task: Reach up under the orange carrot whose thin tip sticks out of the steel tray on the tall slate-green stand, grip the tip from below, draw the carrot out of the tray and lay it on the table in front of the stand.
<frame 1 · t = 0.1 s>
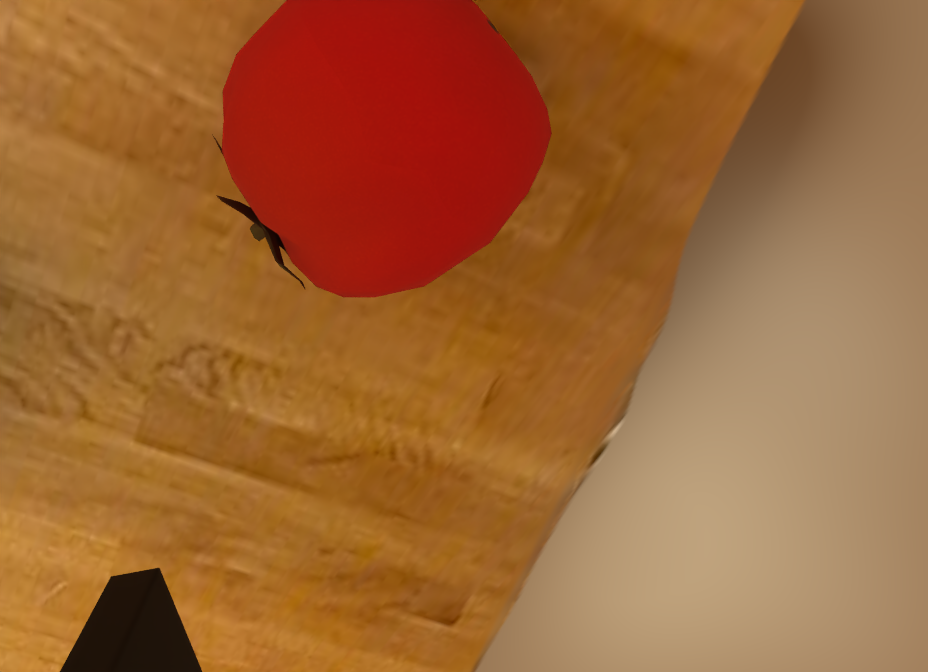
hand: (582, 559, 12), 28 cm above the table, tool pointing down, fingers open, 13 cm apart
tomato: (381, 122, 37), on the table
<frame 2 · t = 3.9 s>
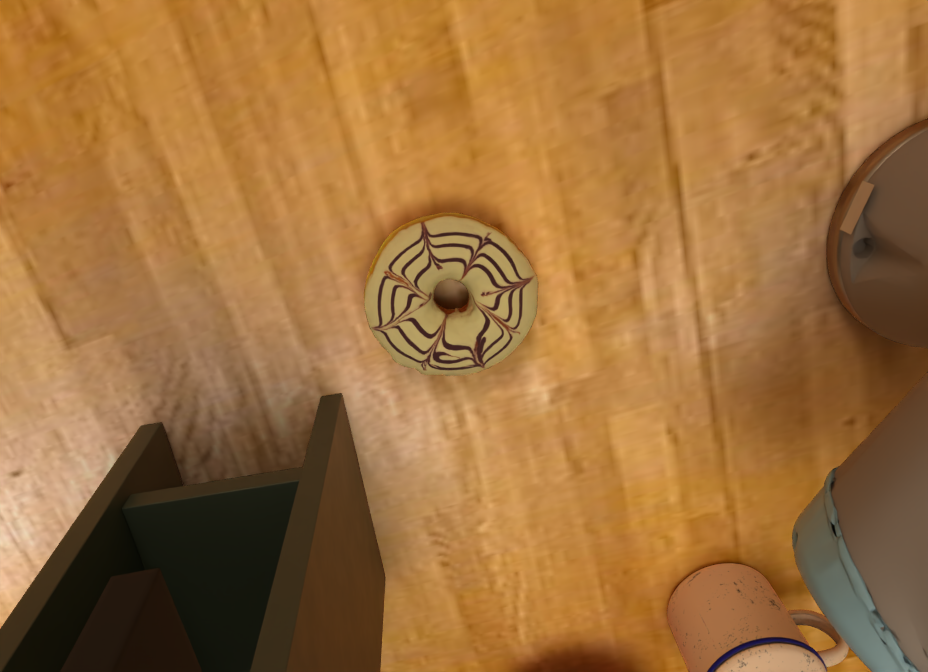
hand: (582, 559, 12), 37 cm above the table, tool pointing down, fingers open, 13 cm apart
teacup with lid: (735, 599, 61), on the table
stand: (269, 505, 55), on the table
decorated donut: (449, 286, 50), on the table
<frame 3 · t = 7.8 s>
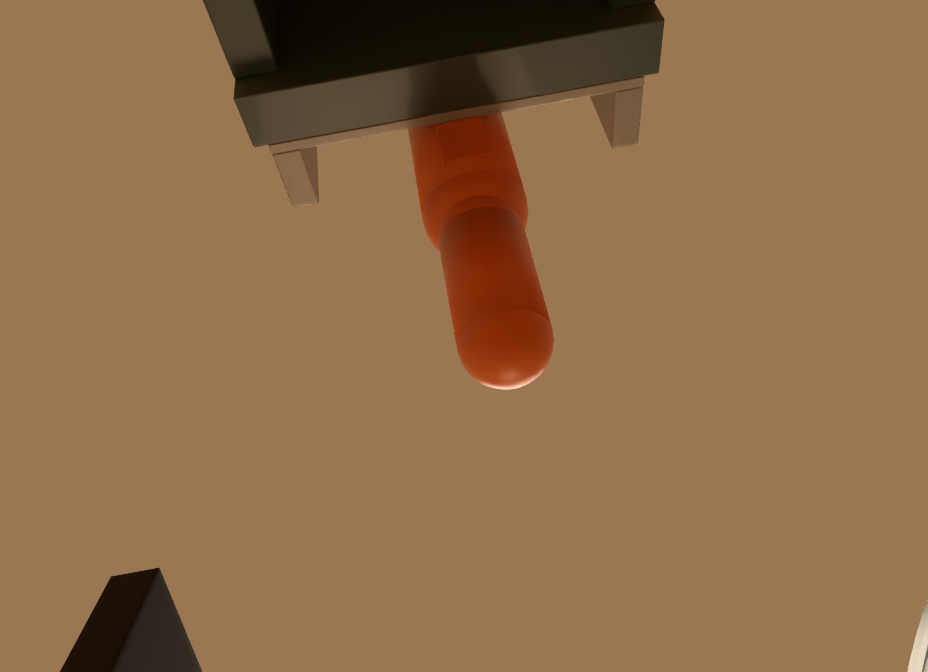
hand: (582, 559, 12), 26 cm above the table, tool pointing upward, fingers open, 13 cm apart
carrot: (450, 87, 27), point 30 cm above the table, touching stand
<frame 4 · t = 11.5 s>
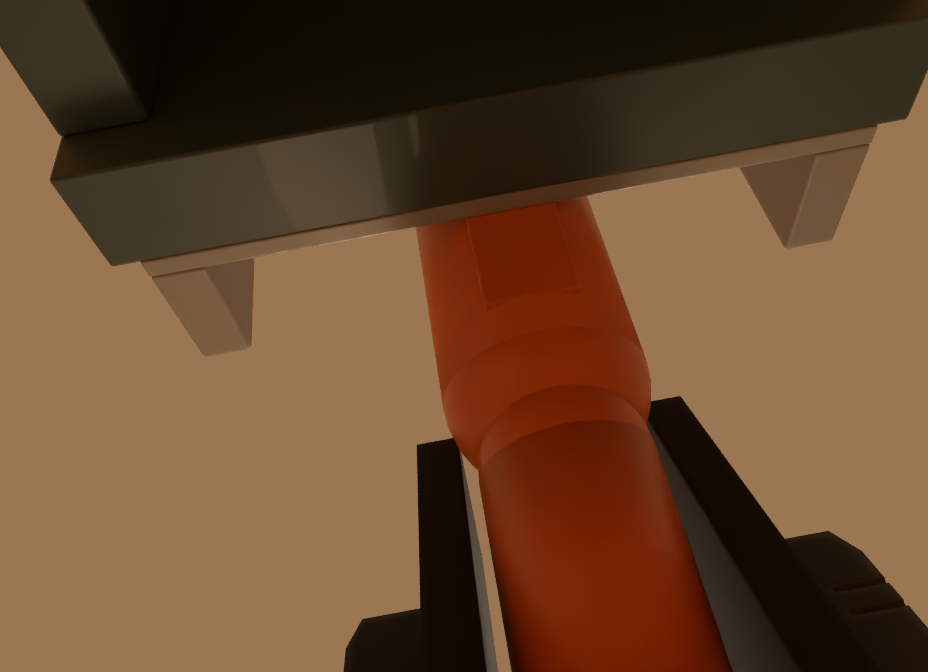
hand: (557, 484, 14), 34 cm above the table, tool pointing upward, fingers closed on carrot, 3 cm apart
carrot: (491, 140, 15), point 30 cm above the table, touching gripper, stand
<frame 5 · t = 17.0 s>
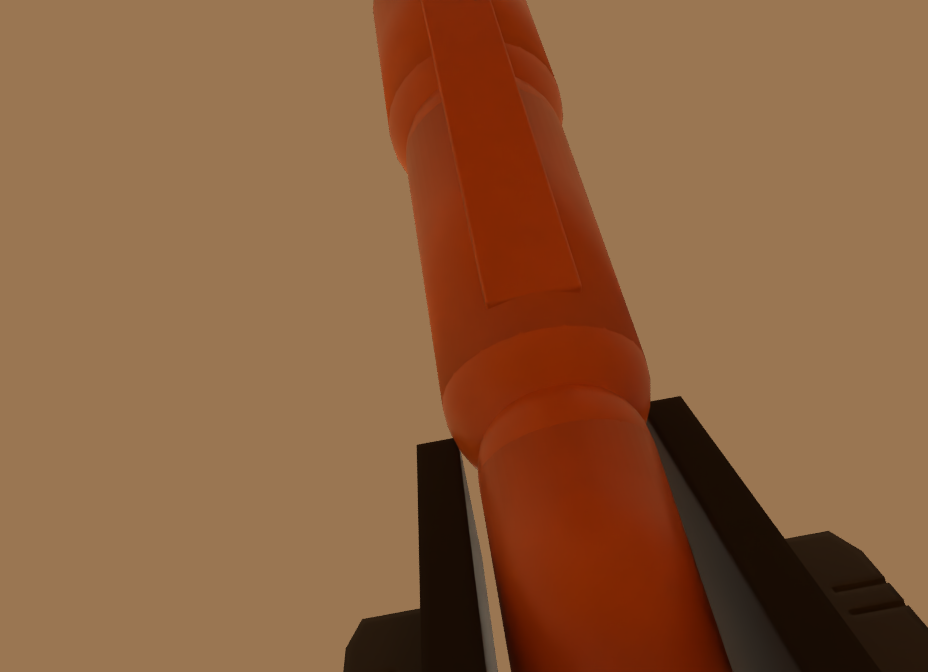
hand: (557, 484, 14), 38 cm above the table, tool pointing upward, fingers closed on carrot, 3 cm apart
carrot: (492, 138, 15), point 35 cm above the table, touching gripper
when the fingers open (12 cm above the table, at t = 22.7 s): carrot drops 6 cm, on the table.
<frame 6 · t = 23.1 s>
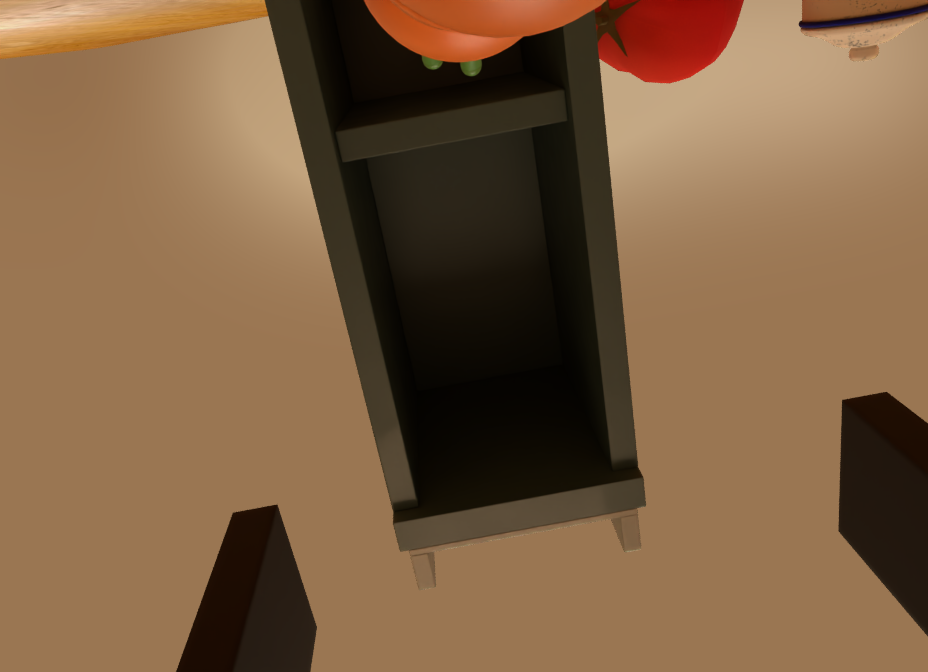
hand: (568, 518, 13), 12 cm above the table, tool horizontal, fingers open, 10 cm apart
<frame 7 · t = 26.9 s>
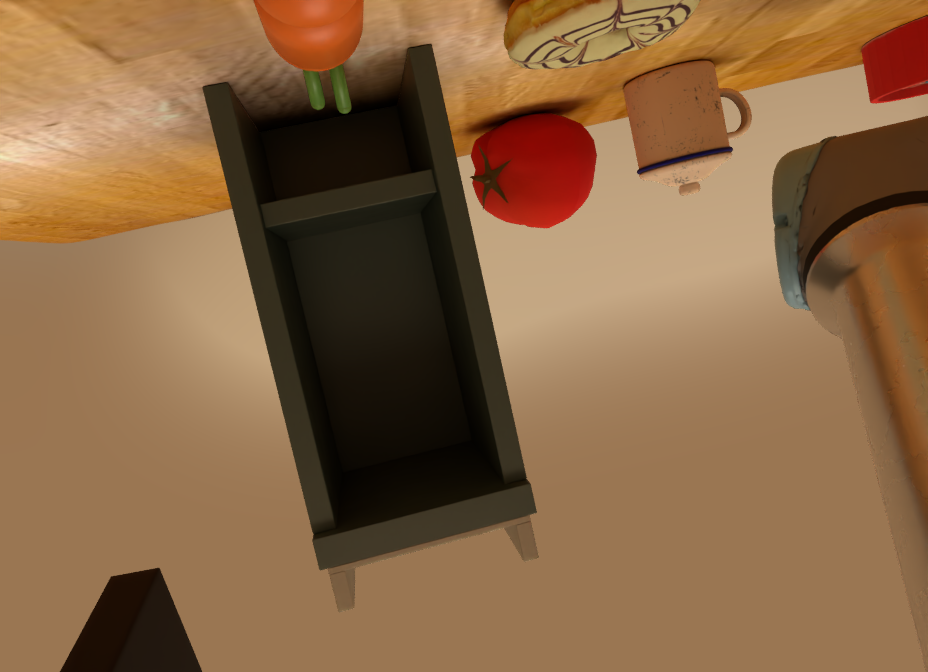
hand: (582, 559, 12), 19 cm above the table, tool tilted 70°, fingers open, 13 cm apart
teacup with lid: (681, 69, 73), on the table
stand: (325, 97, 54), on the table
tomato: (523, 116, 79), on the table
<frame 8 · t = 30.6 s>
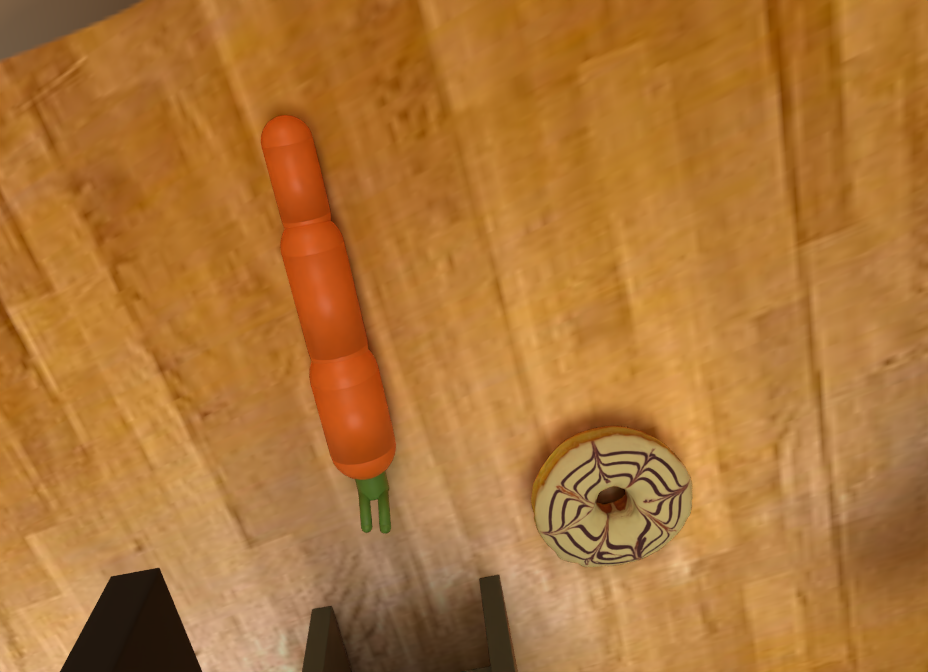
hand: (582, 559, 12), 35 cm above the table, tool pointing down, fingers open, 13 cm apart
stand: (426, 671, 59), on the table
carrot: (334, 310, 47), on the table
decorated donut: (603, 480, 53), on the table
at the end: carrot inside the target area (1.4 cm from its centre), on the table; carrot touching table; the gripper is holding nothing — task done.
